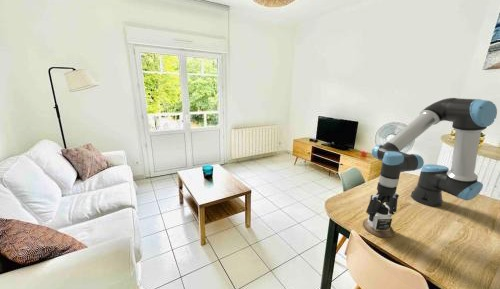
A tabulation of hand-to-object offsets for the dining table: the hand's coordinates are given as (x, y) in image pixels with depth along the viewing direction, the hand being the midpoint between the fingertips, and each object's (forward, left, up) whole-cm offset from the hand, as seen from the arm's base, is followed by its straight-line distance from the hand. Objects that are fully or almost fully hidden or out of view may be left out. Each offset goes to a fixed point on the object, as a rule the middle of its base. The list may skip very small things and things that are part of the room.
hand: (378, 224), depth 104 cm
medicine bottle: (0, 0, -1) cm, 1 cm away
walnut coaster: (0, 0, -2) cm, 2 cm away
